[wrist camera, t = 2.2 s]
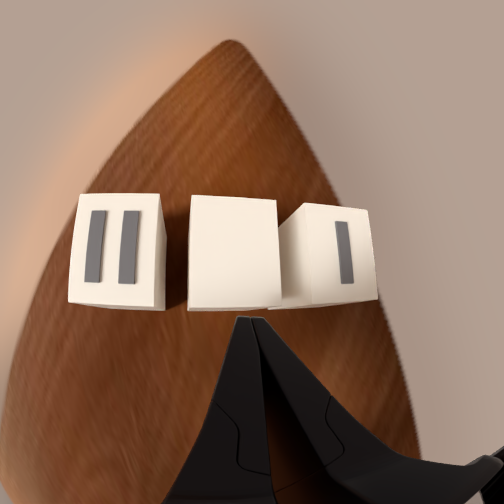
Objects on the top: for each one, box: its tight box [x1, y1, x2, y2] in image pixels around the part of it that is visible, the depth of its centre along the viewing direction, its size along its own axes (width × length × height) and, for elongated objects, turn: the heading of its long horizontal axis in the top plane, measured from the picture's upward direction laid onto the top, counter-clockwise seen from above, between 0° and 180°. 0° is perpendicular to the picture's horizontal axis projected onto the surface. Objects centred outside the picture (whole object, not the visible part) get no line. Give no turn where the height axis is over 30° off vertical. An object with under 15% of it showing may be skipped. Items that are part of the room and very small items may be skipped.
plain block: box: [188, 195, 282, 311], centre depth 15 cm, size 5×4×7 cm
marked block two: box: [68, 194, 167, 311], centre depth 14 cm, size 5×4×7 cm
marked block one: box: [268, 203, 378, 310], centre depth 17 cm, size 5×4×7 cm
